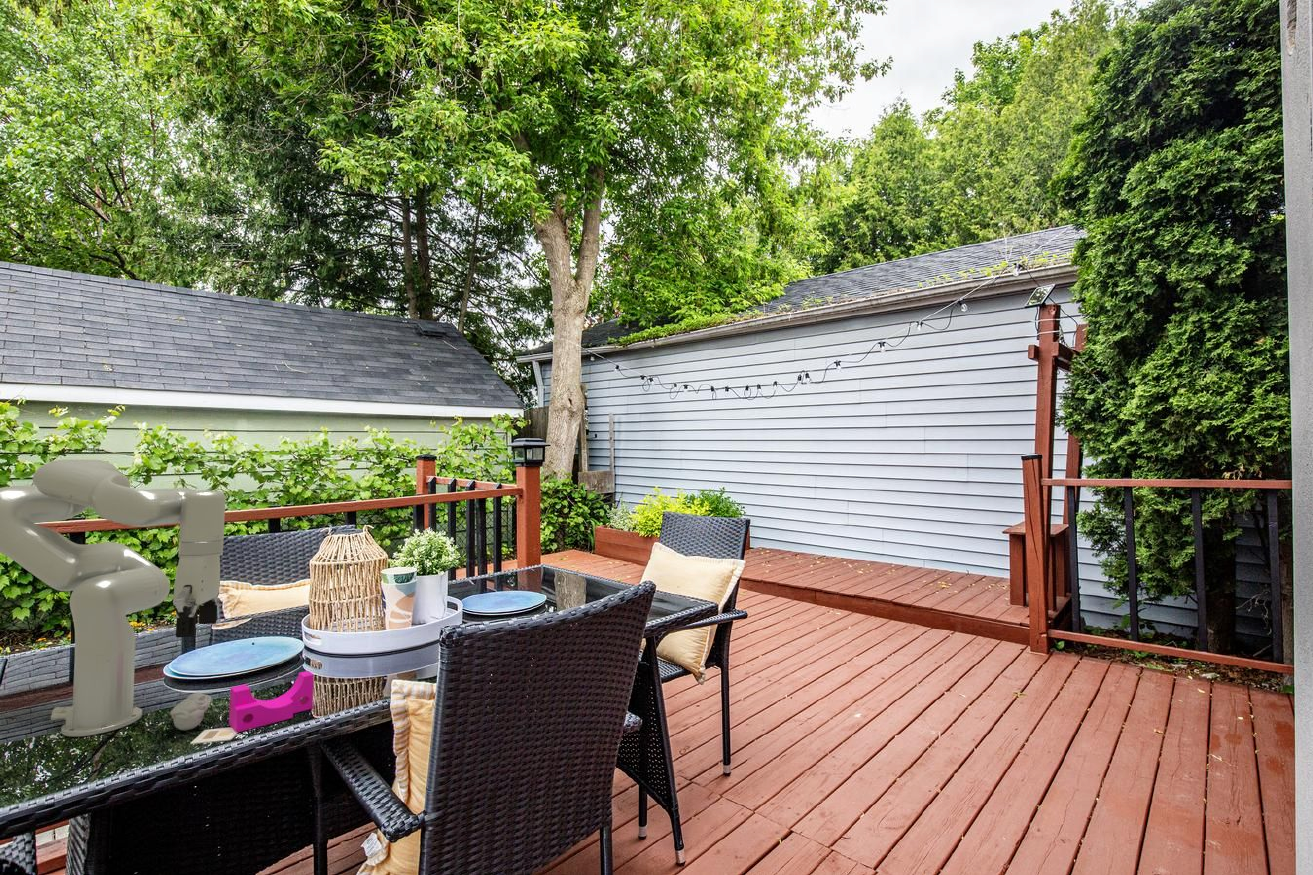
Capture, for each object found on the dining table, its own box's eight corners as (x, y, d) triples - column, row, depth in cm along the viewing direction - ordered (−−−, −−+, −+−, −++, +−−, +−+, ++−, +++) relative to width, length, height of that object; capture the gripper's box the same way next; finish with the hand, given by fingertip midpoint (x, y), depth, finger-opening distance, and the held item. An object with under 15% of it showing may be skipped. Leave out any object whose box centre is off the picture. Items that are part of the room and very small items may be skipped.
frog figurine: (215, 726, 126) (216, 692, 126) (175, 738, 120) (176, 703, 121) (204, 719, 129) (205, 686, 130) (164, 731, 124) (165, 696, 124)
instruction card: (190, 744, 118) (190, 742, 118) (204, 730, 124) (204, 729, 124) (230, 739, 120) (230, 738, 120) (243, 727, 126) (243, 725, 126)
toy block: (236, 732, 122) (237, 695, 123) (228, 723, 127) (230, 687, 127) (316, 711, 133) (317, 677, 134) (307, 703, 138) (308, 670, 138)
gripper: (199, 543, 134) (195, 620, 134) (158, 555, 117) (153, 643, 117) (238, 542, 136) (234, 618, 136) (202, 554, 119) (198, 641, 119)
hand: (197, 630), depth 126 cm, fingers open, 9 cm apart
